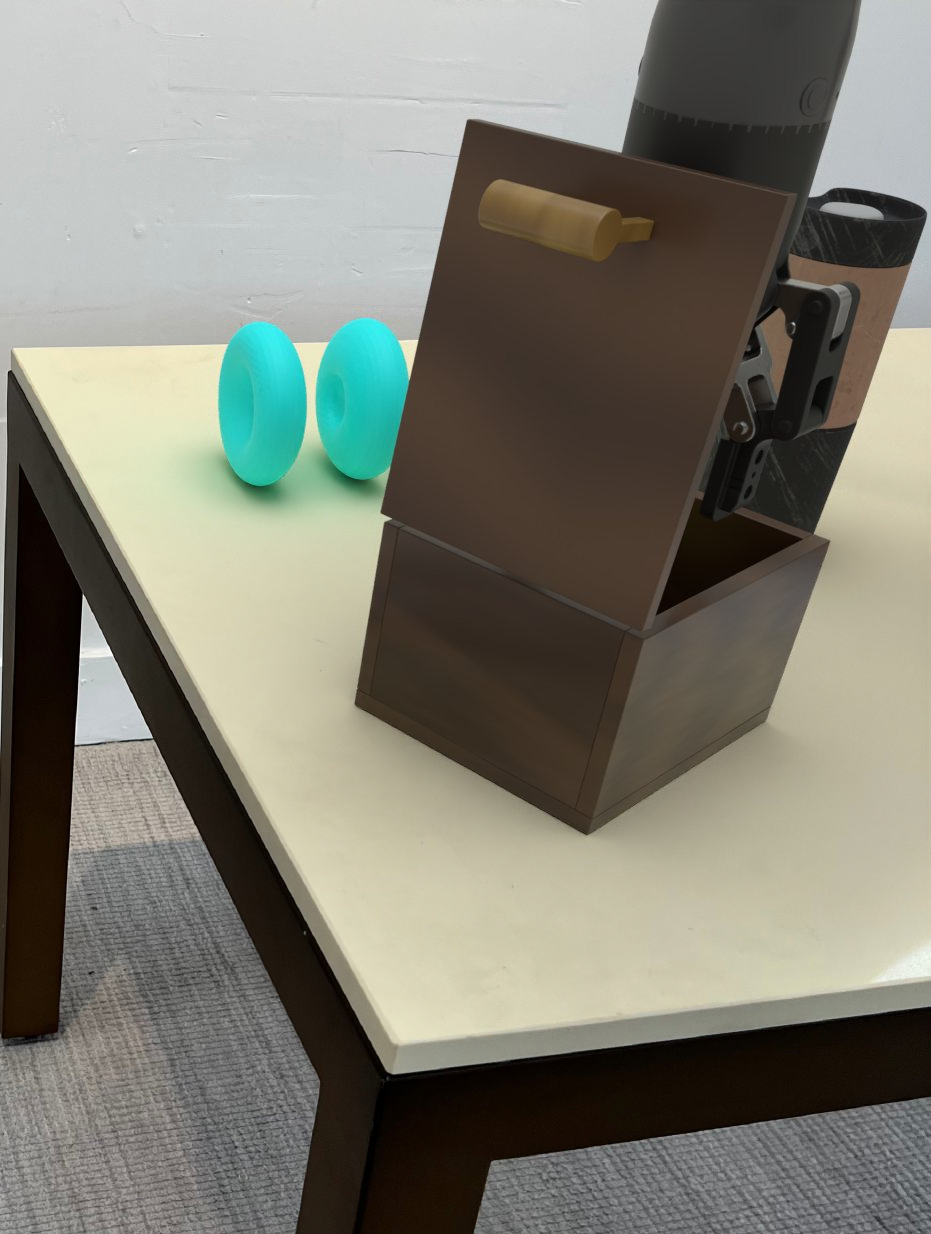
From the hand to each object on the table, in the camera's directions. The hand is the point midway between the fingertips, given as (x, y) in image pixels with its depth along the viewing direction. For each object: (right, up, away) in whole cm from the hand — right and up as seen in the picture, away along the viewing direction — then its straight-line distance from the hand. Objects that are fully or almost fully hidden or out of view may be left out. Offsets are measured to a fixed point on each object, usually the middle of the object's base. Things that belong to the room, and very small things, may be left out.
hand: (632, 483), depth 68 cm
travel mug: (+16, +2, +25) cm, 29 cm away
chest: (-1, -10, +6) cm, 12 cm away
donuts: (-12, +7, +29) cm, 32 cm away
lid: (-6, +3, -8) cm, 10 cm away
